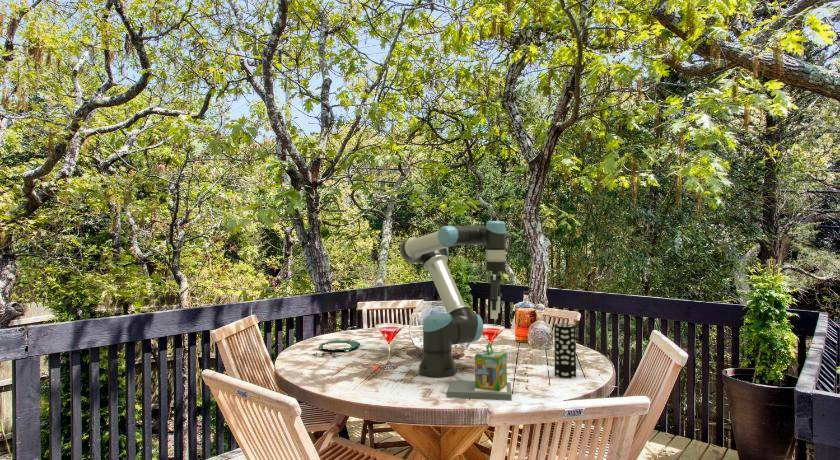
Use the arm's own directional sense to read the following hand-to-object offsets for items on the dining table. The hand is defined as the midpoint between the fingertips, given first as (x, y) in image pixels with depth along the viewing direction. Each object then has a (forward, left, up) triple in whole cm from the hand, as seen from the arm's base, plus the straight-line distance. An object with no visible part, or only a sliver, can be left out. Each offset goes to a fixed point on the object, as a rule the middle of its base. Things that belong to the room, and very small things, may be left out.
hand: (495, 315), depth 198 cm
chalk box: (-1, -16, -23) cm, 28 cm away
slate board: (-6, -17, -25) cm, 30 cm away
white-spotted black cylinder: (+27, +10, -25) cm, 39 cm away
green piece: (-77, +40, -26) cm, 91 cm away
